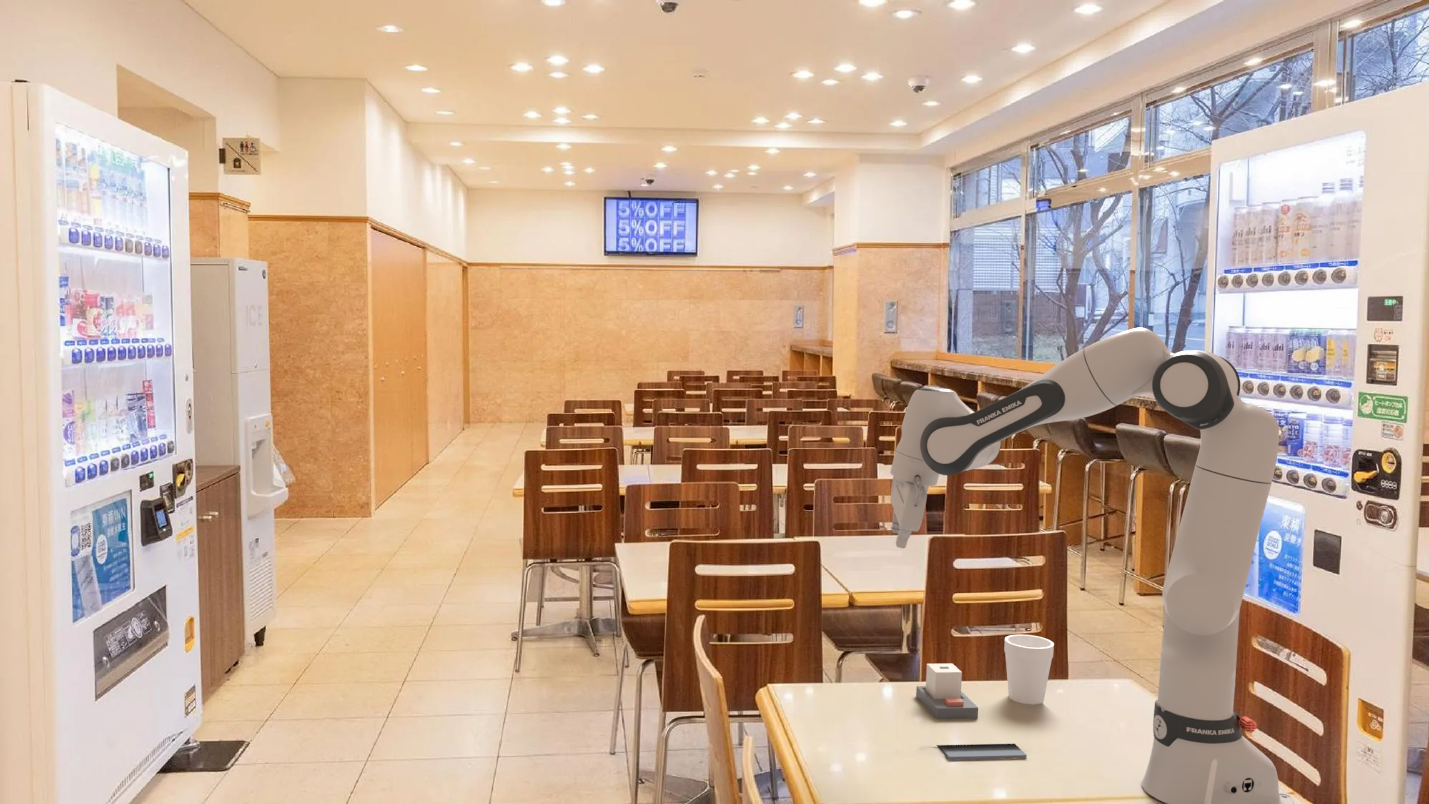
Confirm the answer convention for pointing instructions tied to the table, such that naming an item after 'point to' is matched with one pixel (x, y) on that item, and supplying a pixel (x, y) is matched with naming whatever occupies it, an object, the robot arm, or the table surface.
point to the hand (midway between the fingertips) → (897, 539)
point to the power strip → (948, 706)
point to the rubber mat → (981, 751)
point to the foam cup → (1027, 667)
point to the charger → (943, 681)
